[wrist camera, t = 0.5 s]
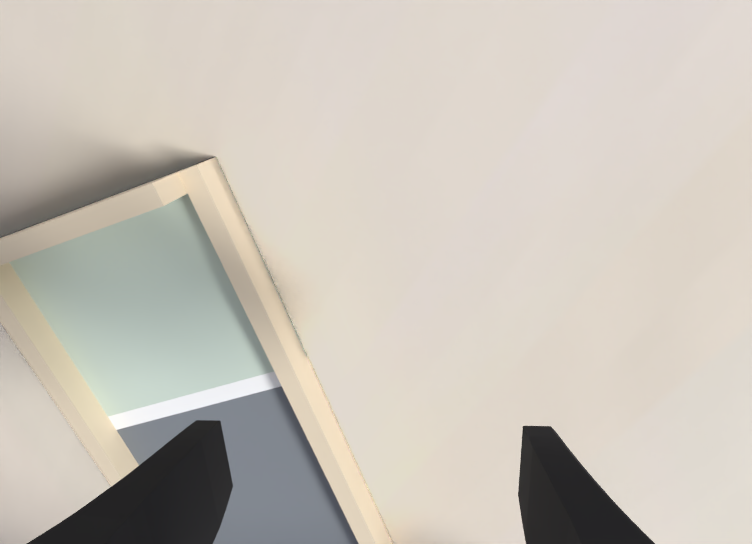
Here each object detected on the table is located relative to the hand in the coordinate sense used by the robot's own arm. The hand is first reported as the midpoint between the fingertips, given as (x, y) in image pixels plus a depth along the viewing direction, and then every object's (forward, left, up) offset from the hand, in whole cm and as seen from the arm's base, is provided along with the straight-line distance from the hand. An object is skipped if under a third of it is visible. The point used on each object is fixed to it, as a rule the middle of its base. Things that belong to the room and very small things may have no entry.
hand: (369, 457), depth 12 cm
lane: (-5, +10, -10) cm, 15 cm away
